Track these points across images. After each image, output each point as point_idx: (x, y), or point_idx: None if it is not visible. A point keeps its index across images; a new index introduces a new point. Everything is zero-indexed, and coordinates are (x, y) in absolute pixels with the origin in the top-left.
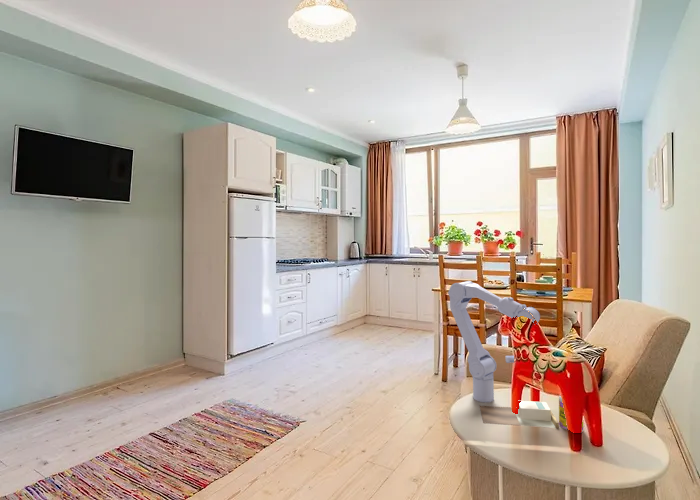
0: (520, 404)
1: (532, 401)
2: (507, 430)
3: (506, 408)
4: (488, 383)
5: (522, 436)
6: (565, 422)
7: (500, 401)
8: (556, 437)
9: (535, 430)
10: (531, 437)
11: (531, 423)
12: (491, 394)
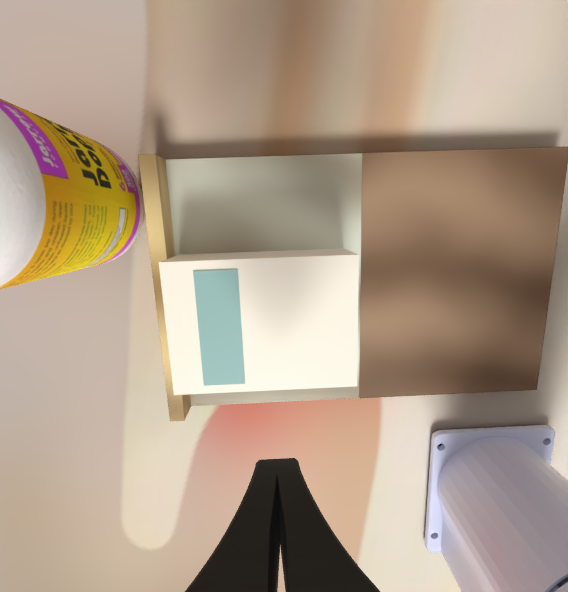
0: (347, 322)
1: (259, 389)
2: (433, 117)
3: (396, 376)
4: (559, 540)
5: (366, 49)
6: (93, 143)
7: (398, 487)
8: (180, 74)
9: (280, 149)
10: (318, 45)
11: (294, 195)
12: (480, 486)
